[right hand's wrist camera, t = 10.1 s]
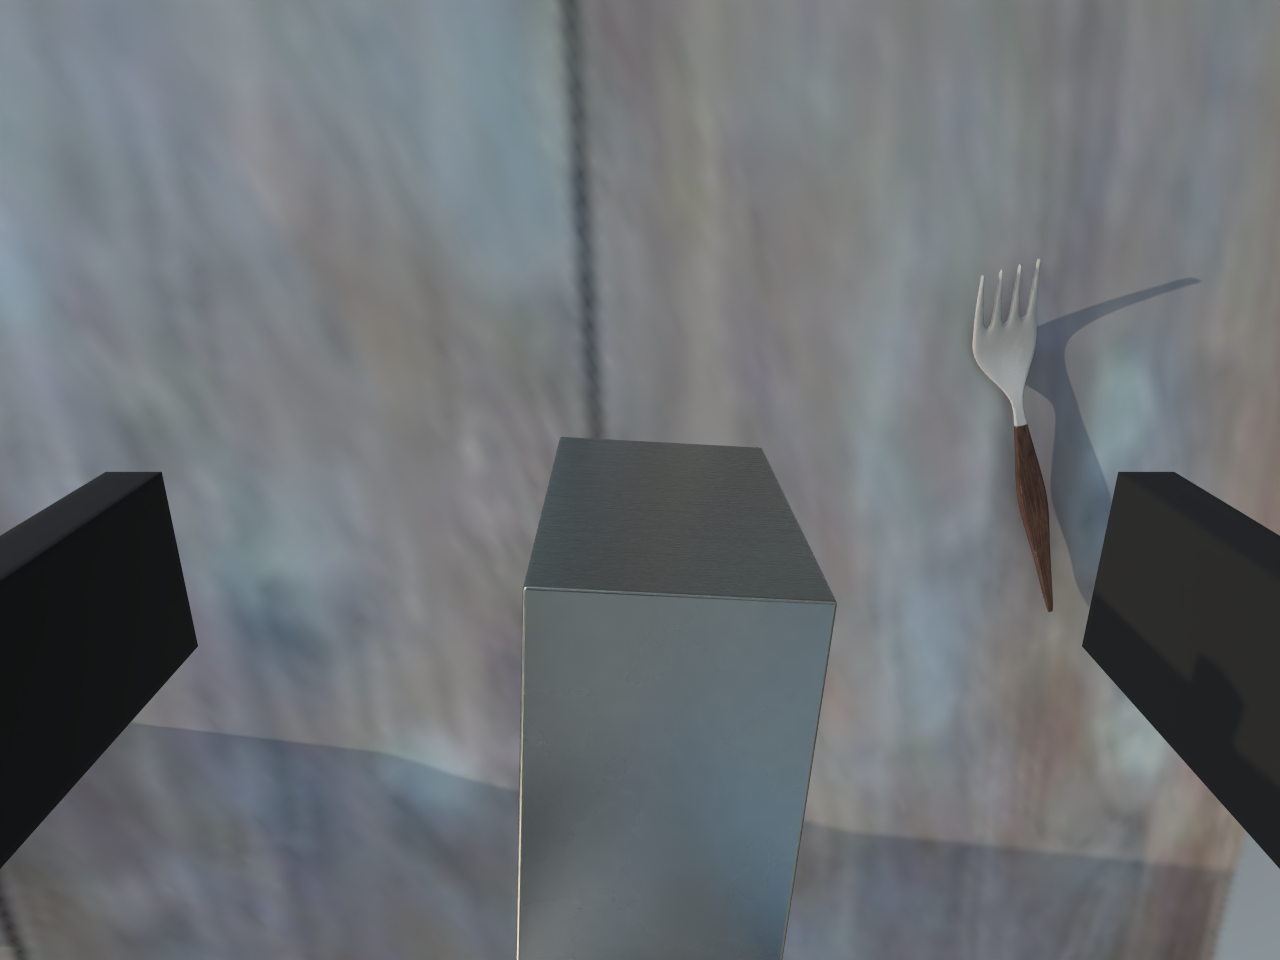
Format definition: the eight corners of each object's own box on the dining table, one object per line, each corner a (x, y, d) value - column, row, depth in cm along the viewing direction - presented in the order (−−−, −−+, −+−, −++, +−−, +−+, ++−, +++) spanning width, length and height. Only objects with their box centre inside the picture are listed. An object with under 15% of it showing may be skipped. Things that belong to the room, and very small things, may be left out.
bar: (559, 436, 24) (522, 586, 15) (762, 447, 24) (838, 602, 16) (539, 1083, 33) (507, 1416, 24) (689, 1087, 33) (712, 1419, 24)
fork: (1016, 613, 40) (1035, 635, 38) (958, 271, 35) (977, 277, 33) (1073, 598, 40) (1095, 620, 38) (1023, 251, 34) (1046, 256, 32)
